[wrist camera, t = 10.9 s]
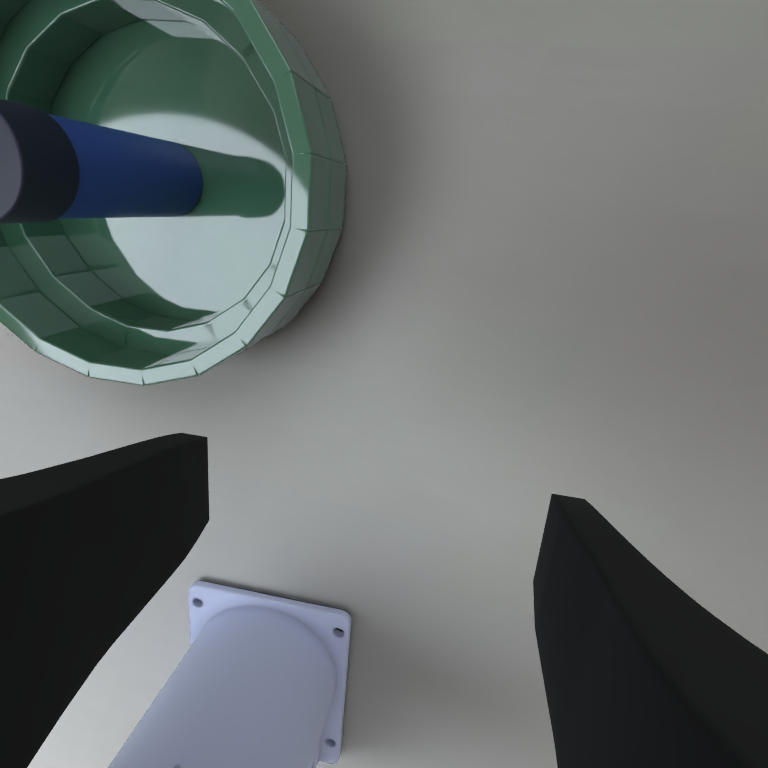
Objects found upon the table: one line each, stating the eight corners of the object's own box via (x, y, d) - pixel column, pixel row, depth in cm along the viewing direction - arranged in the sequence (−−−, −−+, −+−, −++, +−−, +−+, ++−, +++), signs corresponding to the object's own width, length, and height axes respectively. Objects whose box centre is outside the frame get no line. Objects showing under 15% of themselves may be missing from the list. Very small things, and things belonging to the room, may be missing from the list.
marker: (206, 223, 20) (30, 229, 12) (138, 216, 20) (-75, 218, 13) (205, 141, 19) (12, 92, 11) (133, 135, 19) (-99, 85, 12)
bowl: (338, 371, 21) (301, 410, 17) (46, 330, 23) (-52, 356, 19) (362, -20, 17) (321, -95, 13) (2, -30, 19) (-135, -99, 15)
